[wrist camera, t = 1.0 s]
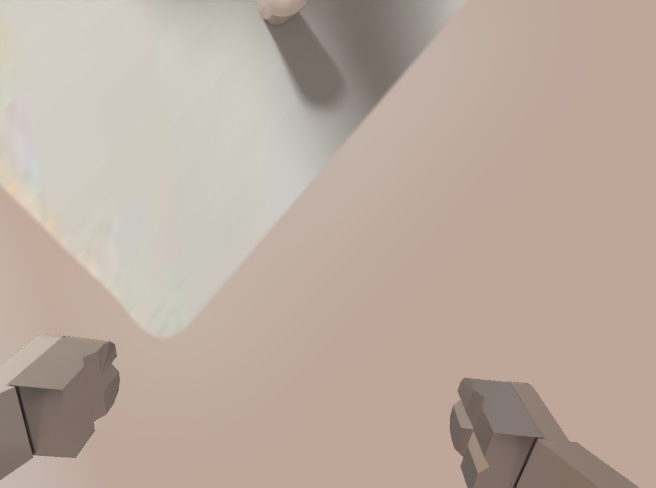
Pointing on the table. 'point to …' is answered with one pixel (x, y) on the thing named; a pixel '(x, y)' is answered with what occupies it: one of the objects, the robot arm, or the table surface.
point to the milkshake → (279, 9)
